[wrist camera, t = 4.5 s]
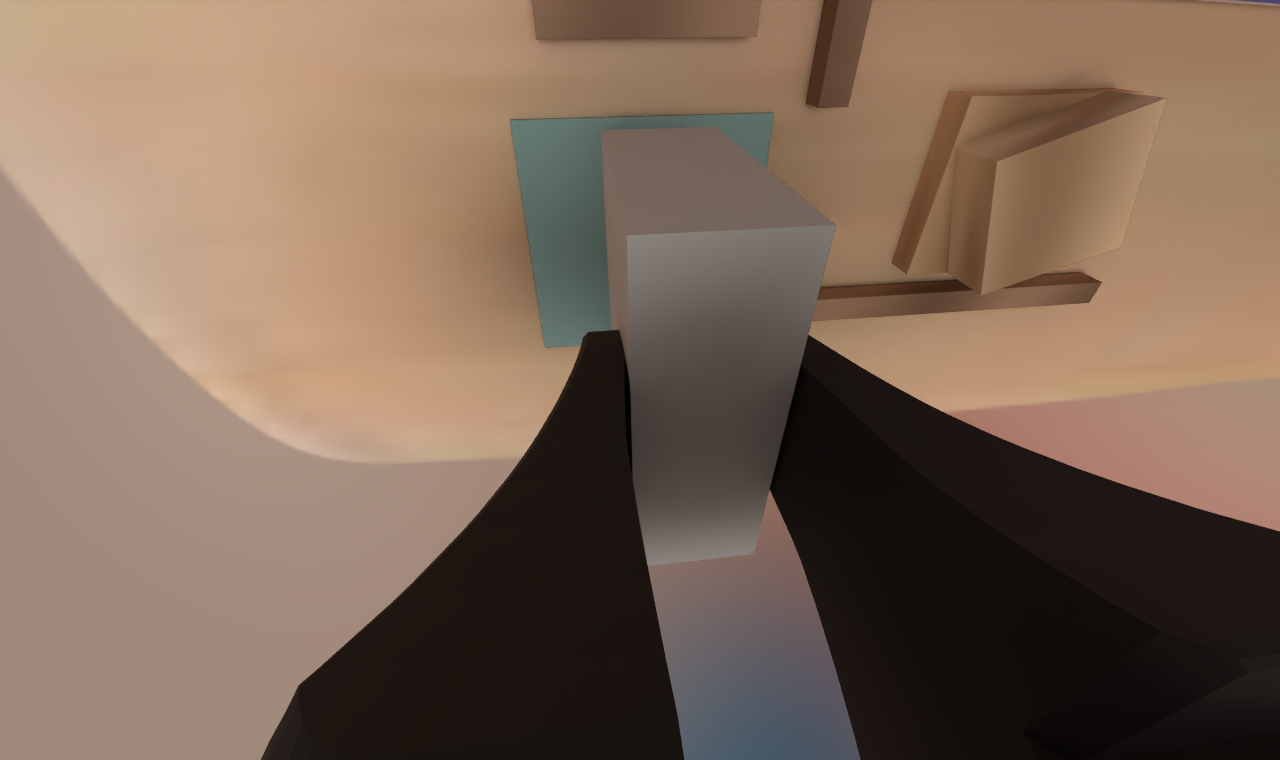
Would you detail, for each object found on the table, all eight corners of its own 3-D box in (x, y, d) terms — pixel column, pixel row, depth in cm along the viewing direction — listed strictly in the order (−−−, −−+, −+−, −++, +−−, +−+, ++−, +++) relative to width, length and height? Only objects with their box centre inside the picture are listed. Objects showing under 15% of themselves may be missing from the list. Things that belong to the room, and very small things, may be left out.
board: (715, 126, 10) (835, 224, 6) (694, 379, 15) (753, 554, 10) (600, 130, 10) (626, 236, 5) (614, 385, 14) (635, 567, 10)
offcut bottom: (1092, 85, 14) (1143, 92, 13) (1012, 247, 17) (1047, 266, 16) (935, 88, 14) (972, 96, 12) (881, 254, 17) (906, 274, 15)
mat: (772, 112, 13) (773, 113, 13) (741, 333, 17) (742, 334, 17) (510, 119, 12) (509, 120, 12) (545, 346, 17) (545, 347, 16)
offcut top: (1107, 90, 13) (1166, 98, 11) (1074, 228, 15) (1120, 247, 14) (955, 148, 13) (997, 162, 12) (947, 273, 16) (981, 295, 14)
